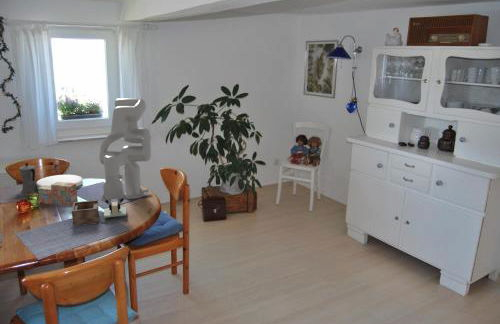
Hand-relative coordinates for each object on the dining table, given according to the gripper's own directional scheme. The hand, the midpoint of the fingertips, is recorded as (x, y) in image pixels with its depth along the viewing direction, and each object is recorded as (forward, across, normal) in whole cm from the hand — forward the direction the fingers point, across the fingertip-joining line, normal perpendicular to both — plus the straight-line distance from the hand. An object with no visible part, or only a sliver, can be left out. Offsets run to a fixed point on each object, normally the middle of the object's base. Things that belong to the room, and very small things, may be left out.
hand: (115, 210), depth 222 cm
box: (+4, +15, 0) cm, 15 cm away
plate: (+4, +34, -64) cm, 72 cm away
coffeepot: (+4, +51, -60) cm, 78 cm away
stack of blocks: (+4, +31, -31) cm, 44 cm away
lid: (+1, 0, 0) cm, 1 cm away
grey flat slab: (+4, +1, 0) cm, 4 cm away
